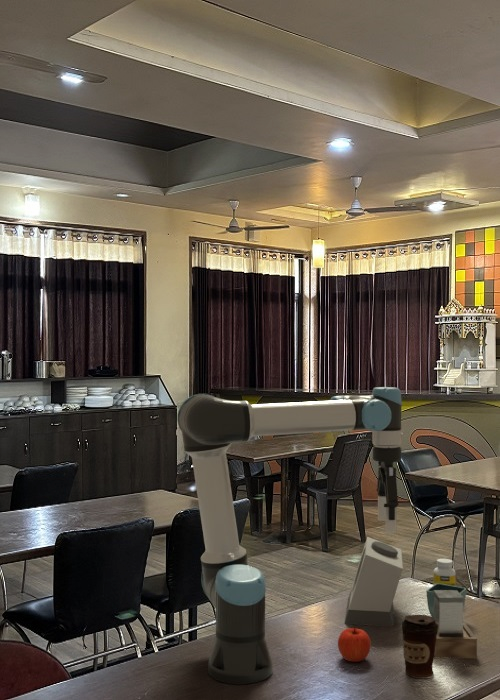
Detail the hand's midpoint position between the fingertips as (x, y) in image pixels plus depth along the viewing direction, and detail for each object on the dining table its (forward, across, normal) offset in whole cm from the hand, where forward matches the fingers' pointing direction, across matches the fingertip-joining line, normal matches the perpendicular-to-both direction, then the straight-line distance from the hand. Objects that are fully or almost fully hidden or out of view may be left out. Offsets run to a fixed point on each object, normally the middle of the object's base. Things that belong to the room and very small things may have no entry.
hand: (386, 526), depth 208 cm
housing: (+25, -10, -14) cm, 30 cm away
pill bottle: (+29, +30, -22) cm, 47 cm away
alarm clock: (+29, +17, +1) cm, 34 cm away
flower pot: (+29, +10, -18) cm, 36 cm away
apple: (+29, -16, +10) cm, 35 cm away
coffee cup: (+29, -25, -4) cm, 38 cm away
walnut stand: (+29, -10, -14) cm, 33 cm away
